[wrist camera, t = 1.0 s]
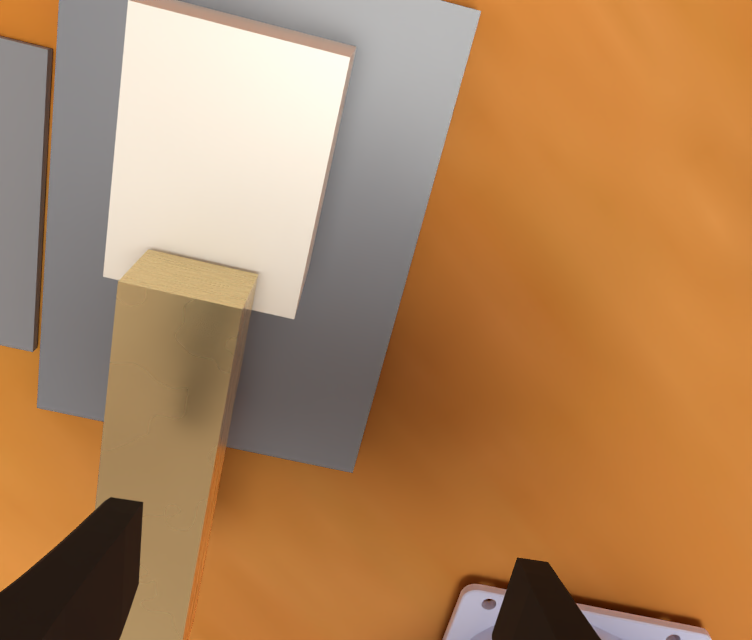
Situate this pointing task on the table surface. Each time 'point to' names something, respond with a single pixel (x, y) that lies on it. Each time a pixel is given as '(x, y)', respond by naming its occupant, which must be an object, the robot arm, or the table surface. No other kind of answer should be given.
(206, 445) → the tan rectangular bar
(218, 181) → the white rectangular block
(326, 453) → the panel
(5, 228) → the mat
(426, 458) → the table surface
